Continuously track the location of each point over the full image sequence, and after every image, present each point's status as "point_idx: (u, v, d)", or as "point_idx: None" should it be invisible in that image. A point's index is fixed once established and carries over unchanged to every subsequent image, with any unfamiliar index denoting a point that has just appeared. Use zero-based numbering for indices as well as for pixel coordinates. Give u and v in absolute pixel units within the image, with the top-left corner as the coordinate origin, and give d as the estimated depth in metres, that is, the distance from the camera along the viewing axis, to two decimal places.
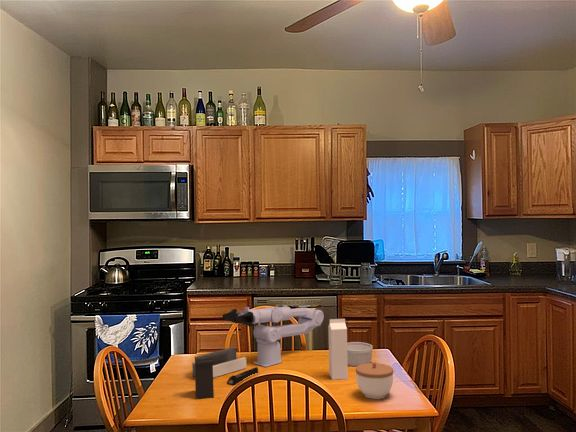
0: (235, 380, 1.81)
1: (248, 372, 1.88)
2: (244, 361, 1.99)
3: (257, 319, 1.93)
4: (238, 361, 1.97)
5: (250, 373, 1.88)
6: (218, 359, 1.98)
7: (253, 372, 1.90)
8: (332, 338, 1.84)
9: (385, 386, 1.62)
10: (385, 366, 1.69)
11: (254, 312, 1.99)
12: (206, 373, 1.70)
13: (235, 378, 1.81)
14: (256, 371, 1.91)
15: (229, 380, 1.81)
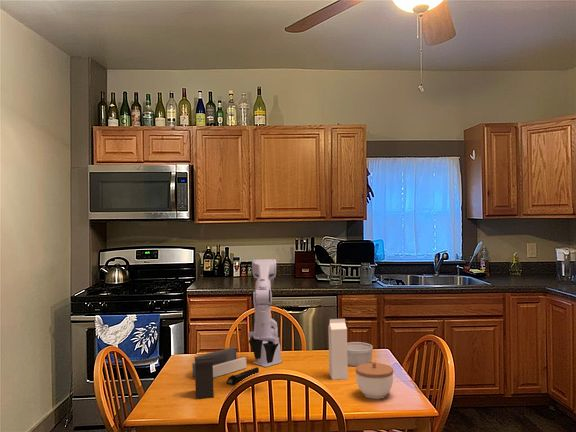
0: (234, 380, 1.81)
1: (248, 372, 1.88)
2: (244, 361, 1.99)
3: (277, 341, 1.73)
4: (238, 361, 1.97)
5: (250, 373, 1.88)
6: (218, 359, 1.98)
7: (253, 372, 1.90)
8: (332, 338, 1.84)
9: (385, 386, 1.62)
10: (385, 366, 1.69)
11: (262, 331, 1.75)
12: (206, 373, 1.70)
13: (234, 378, 1.82)
14: (256, 371, 1.91)
15: (228, 380, 1.82)
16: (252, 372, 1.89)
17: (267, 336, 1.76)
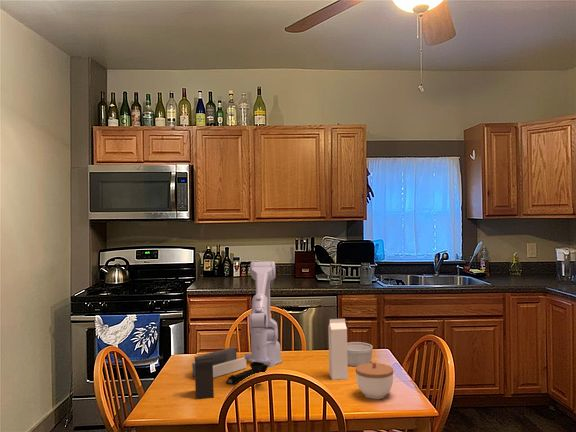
0: (234, 380, 1.81)
1: (248, 372, 1.88)
2: (244, 361, 1.99)
3: (272, 364, 1.75)
4: (238, 361, 1.97)
5: (250, 373, 1.88)
6: (218, 359, 1.98)
7: (253, 372, 1.90)
8: (332, 338, 1.84)
9: (385, 386, 1.62)
10: (385, 366, 1.69)
11: (258, 354, 1.77)
12: (206, 373, 1.70)
13: (234, 378, 1.82)
14: None
15: (228, 380, 1.82)
16: (252, 372, 1.89)
17: (263, 359, 1.77)
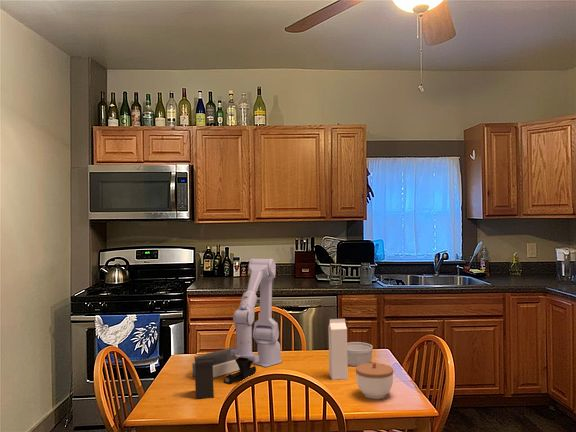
0: (231, 379, 1.82)
1: None
2: None
3: (257, 359, 1.81)
4: None
5: None
6: (218, 359, 1.98)
7: (251, 371, 1.91)
8: (332, 338, 1.84)
9: (385, 386, 1.62)
10: (385, 366, 1.69)
11: (243, 349, 1.83)
12: (206, 373, 1.70)
13: (232, 377, 1.83)
14: (254, 370, 1.92)
15: (226, 378, 1.83)
16: (249, 371, 1.90)
17: (248, 354, 1.83)
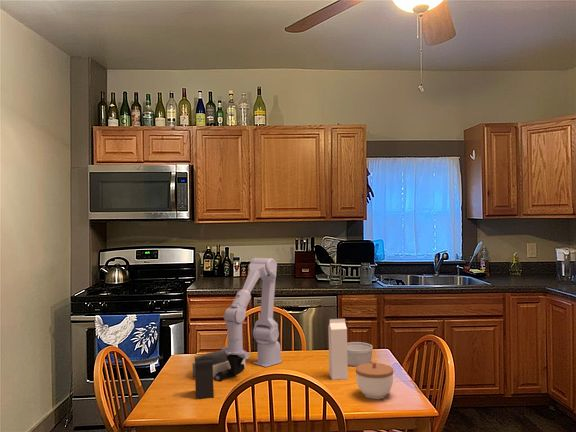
0: (222, 376, 1.85)
1: None
2: (243, 361, 1.99)
3: (247, 356, 1.85)
4: None
5: None
6: (218, 359, 1.98)
7: None
8: (332, 338, 1.84)
9: (385, 386, 1.62)
10: (385, 366, 1.69)
11: (234, 346, 1.87)
12: (206, 373, 1.70)
13: (222, 374, 1.86)
14: (242, 367, 1.96)
15: (216, 376, 1.86)
16: None
17: (238, 351, 1.87)
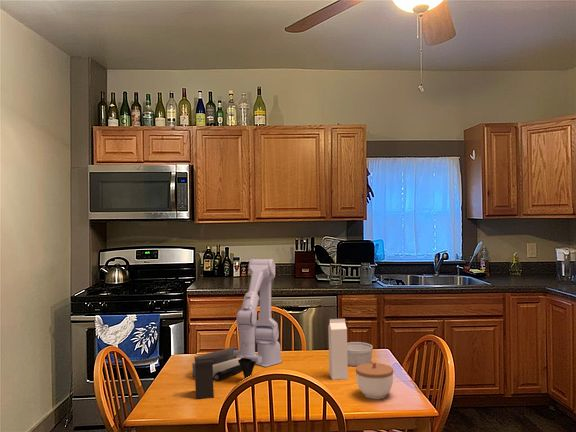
0: (221, 376, 1.86)
1: (234, 368, 1.93)
2: None
3: (260, 360, 1.79)
4: (237, 361, 1.97)
5: (236, 369, 1.93)
6: (218, 359, 1.98)
7: (239, 368, 1.94)
8: (332, 338, 1.84)
9: (385, 386, 1.62)
10: (385, 366, 1.69)
11: (246, 350, 1.82)
12: (206, 373, 1.70)
13: (221, 374, 1.86)
14: None
15: (215, 376, 1.86)
16: (238, 368, 1.94)
17: (251, 355, 1.82)
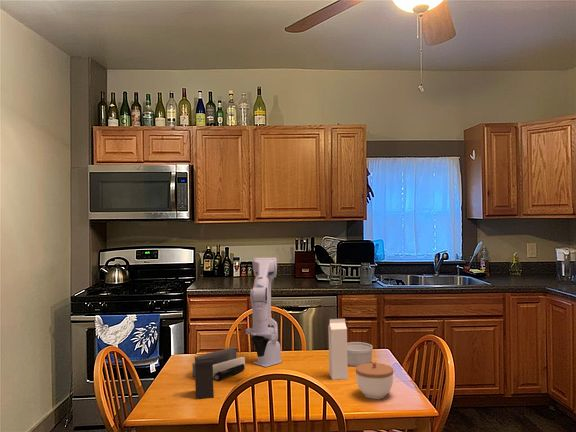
0: (221, 376, 1.86)
1: (234, 368, 1.93)
2: (243, 361, 1.99)
3: (273, 337, 1.78)
4: (237, 361, 1.97)
5: (236, 369, 1.93)
6: (218, 359, 1.98)
7: (239, 368, 1.94)
8: (332, 338, 1.84)
9: (385, 386, 1.62)
10: (385, 366, 1.69)
11: (259, 327, 1.81)
12: (206, 373, 1.70)
13: (221, 374, 1.86)
14: (242, 368, 1.96)
15: (215, 376, 1.86)
16: (238, 368, 1.94)
17: (264, 332, 1.81)
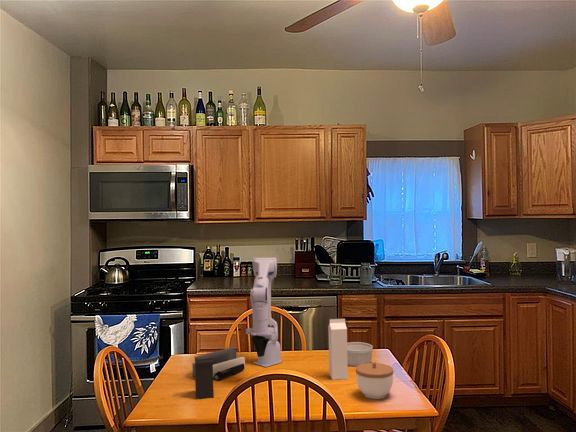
0: (221, 376, 1.86)
1: (234, 368, 1.93)
2: (243, 361, 1.99)
3: (273, 337, 1.78)
4: (237, 361, 1.97)
5: (236, 369, 1.93)
6: (218, 359, 1.98)
7: (239, 368, 1.94)
8: (332, 338, 1.84)
9: (385, 386, 1.62)
10: (385, 366, 1.69)
11: (259, 327, 1.81)
12: (206, 373, 1.70)
13: (221, 374, 1.86)
14: (242, 367, 1.96)
15: (215, 376, 1.86)
16: (238, 368, 1.94)
17: (264, 332, 1.81)
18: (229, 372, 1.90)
